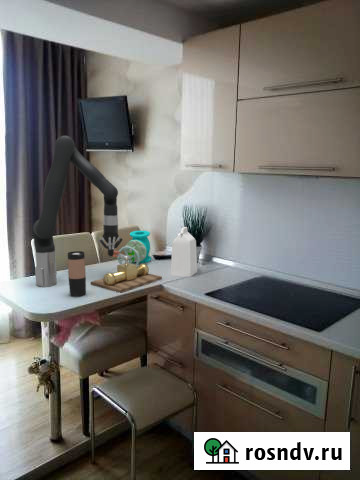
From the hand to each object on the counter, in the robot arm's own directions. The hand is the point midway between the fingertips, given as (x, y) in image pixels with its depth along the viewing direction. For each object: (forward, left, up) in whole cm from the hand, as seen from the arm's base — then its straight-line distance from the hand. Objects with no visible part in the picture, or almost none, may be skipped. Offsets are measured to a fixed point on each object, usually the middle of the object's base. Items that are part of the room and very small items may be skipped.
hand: (110, 256), depth 207 cm
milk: (+32, -24, -13) cm, 43 cm away
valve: (+31, +12, -13) cm, 36 cm away
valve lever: (+2, -5, -1) cm, 6 cm away
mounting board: (0, -11, -12) cm, 17 cm away
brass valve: (0, -11, -12) cm, 17 cm away
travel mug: (-29, -8, -13) cm, 32 cm away
